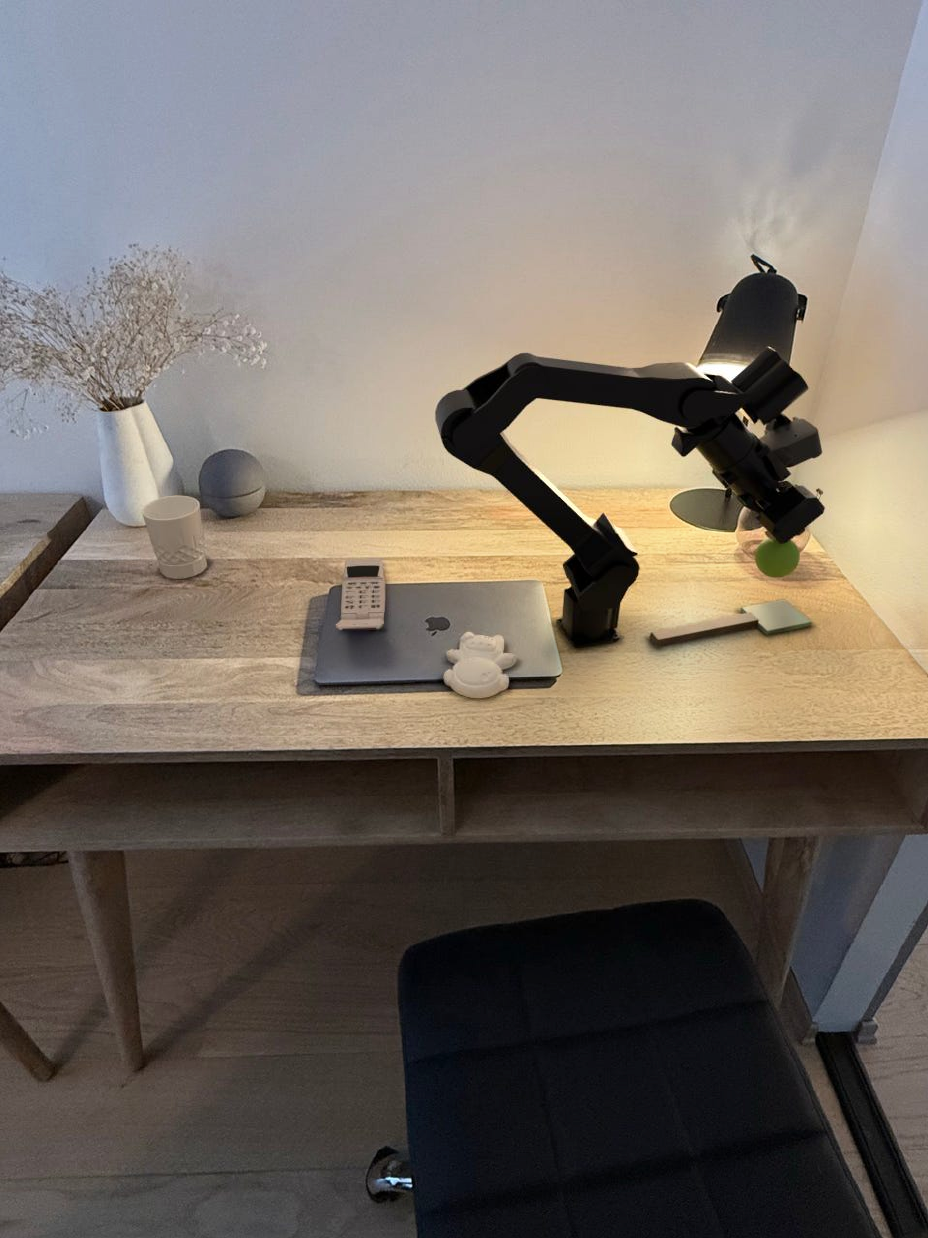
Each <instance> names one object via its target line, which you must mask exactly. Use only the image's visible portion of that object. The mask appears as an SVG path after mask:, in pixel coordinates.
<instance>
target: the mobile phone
mask: <svg viewBox="0 0 928 1238" xmlns="http://www.w3.org/2000/svg"><path fill="white" fill-rule="evenodd" d="M340 600H341V603H340V604H341V605H340V613H341V614H340V620H339V621H338V622H337V623H335V627H336V629H338V630H339V631H367V630H368V631H369V630H370V631H371V630H381V629H382V628H383V626H384V624H385V620H384V619H385V612H386V577H385V568H384V561H383V558H382V557H361V558H360V557H358V558H356V557H355V558H345V561H344V569H343V572H342V585H341V599H340Z"/></svg>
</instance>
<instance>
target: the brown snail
mask: <svg viewBox="0 0 928 1238" xmlns="http://www.w3.org/2000/svg"><path fill="white" fill-rule="evenodd" d="M815 492H816V495H815V496H816V497H817V498H818V499H819V500H820V499H821V496H822V495H823V494H824V491H823V490H822V489H821V487H817V488H816V489H815ZM818 495H819V496H818ZM764 535H765V536H766V538H765V539H763V540H762V541H761V542H760V543H759V544H758V546H757V547H756V549H755V552H754V562H755V565H756V567H757V569H758V570H759V571H760V572H761V573H762V574H763V575H765V576H767V577H770V578H776V579H780V578H784V577H787V576H788V575H791V574H792V573H793V572H794V571H795V570H796V569H797V567H798V565H799V563H800V559H801V553H800V549H799V547H798V545H797V543H796V542H795V541H794V540H792V539H791V540H789V541H788V542H787V543H783V544H779V543H778V541H777V540H776V539H775V538H774V537H773V536H772V535H771V534H770V533H769V532H768V531H767V530H765V531H764ZM794 537H798V536H797V535H796V536H794ZM794 537H793V538H794Z"/></svg>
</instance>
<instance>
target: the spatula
mask: <svg viewBox="0 0 928 1238" xmlns="http://www.w3.org/2000/svg"><path fill="white" fill-rule="evenodd" d="M812 624H813V621H812V620H810V619H809V617H807V616H806V615H805V614H804V613H802V612H801V611H800V610H798V609H797V608H796V607H795V606H794V605H793V604H791V603H790V602H788V601H787V600H786V599H785V598H783V599H778V600H773V601H768V602H763V603H758V604H752V605H748V606H743V607H741V608H740V613H739V614H733V615H727V616H724V617H719V618H713V619H709V620H708V619H707V620H703V621H699V622H698V621H697V622H693V623H688V624H682V625H678V626H673V627H672V626H671V627H668V628H662V629H657V630H651V631H650V634H649V640H650V642H651V643H653V645H654V646H655V647H656V648H660V647H665V646H666V647H667V646H671V645H677V644H680V643H685V642H690V641H696V640H701V639H705V638H710V637H714V636H721V635H725V634H730V633H735V632H740V631H744V630H751V629H754V628H758V629H759V630H760V631H761V632H762V633H763V634H765V635H766V636H770V635H775V634H778V633H784V632H789V631H793V630H798V629H803V628H807V627H811V626H812Z"/></svg>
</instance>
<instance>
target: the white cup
mask: <svg viewBox="0 0 928 1238" xmlns="http://www.w3.org/2000/svg"><path fill="white" fill-rule="evenodd" d="M201 510H202V509H201V504H200V501H199V500H198V499H197V498H194V497H192V496H189V495H170V496H169V495H167V496H163V497H160V498H157V499H153V500H152V501H150V502H148V503H146V504H145V505H144V506H143V508H142V509H141V514H142V517H143V520H144V523H145V528H146V530H147V534H148V537H149V542H150V544H151V546H152V550H153V553H154V555H155V558H156V561H157V564H158V568H159V571H160V574H162V575H163V576H164V577H165V578H168V579H172V580H183V579H188V578H192V577H196V576H198V575H199V574H201V573H203V572H204V571H206V569H207V568H208V561H207V555H206V549H207V547H206V537H205V532H204V525H203V518H202V511H201Z"/></svg>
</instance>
